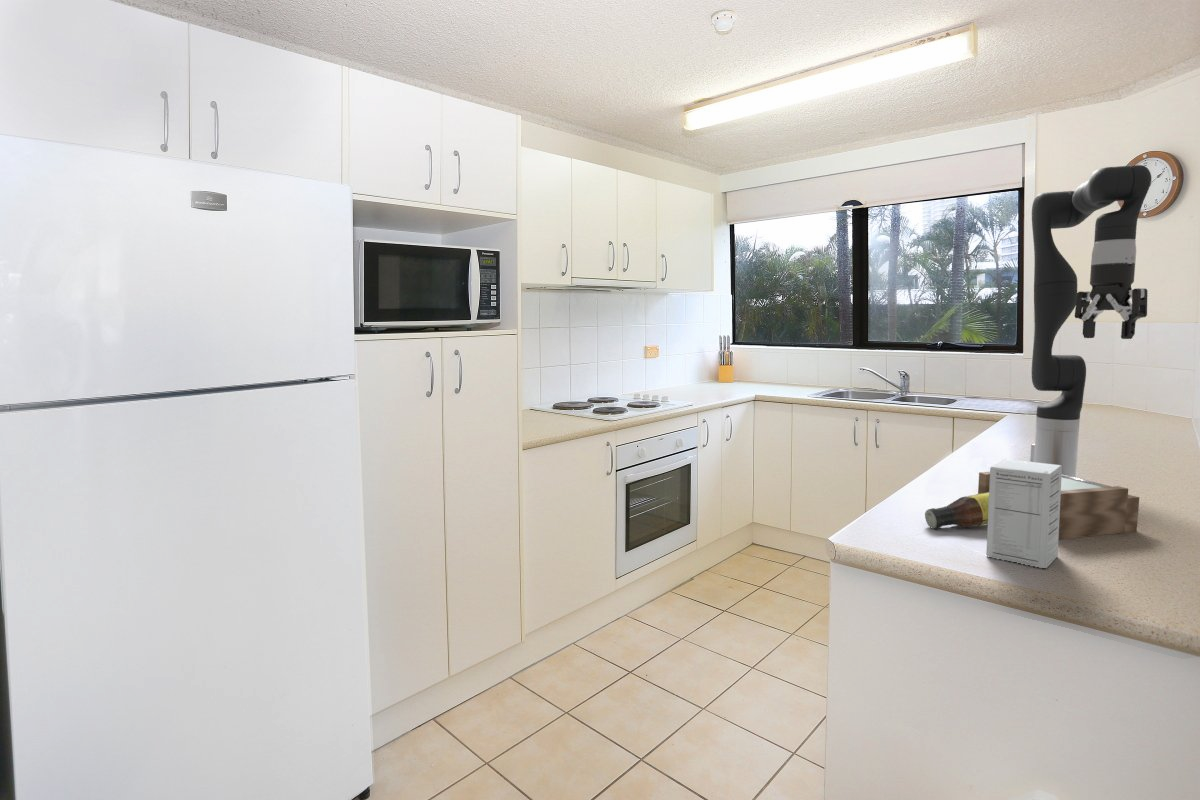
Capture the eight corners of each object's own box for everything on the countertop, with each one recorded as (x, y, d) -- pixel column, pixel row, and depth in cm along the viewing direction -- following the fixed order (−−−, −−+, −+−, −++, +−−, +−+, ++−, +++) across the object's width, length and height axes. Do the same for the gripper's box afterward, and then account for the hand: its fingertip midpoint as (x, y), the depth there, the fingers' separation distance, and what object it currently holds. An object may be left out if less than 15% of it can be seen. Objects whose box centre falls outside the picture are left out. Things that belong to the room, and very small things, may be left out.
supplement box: (1059, 556, 118) (1065, 464, 117) (1046, 570, 112) (1053, 473, 110) (999, 544, 125) (1003, 457, 123) (984, 557, 119) (989, 465, 117)
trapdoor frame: (1051, 505, 150) (1054, 467, 149) (1136, 531, 132) (1140, 487, 131) (977, 512, 146) (979, 472, 145) (1053, 539, 128) (1056, 494, 126)
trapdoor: (1055, 476, 146) (1053, 470, 146) (1116, 491, 133) (1114, 485, 133) (995, 511, 144) (993, 506, 144) (1051, 530, 131) (1049, 524, 130)
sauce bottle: (1014, 480, 138) (925, 495, 136) (1035, 501, 133) (943, 516, 131) (1004, 503, 141) (918, 517, 139) (1024, 524, 136) (935, 539, 134)
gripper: (1068, 265, 147) (1063, 338, 149) (1131, 259, 133) (1125, 339, 135) (1096, 265, 149) (1091, 337, 151) (1161, 259, 135) (1154, 338, 137)
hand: (1107, 338), depth 143 cm, fingers open, 8 cm apart
